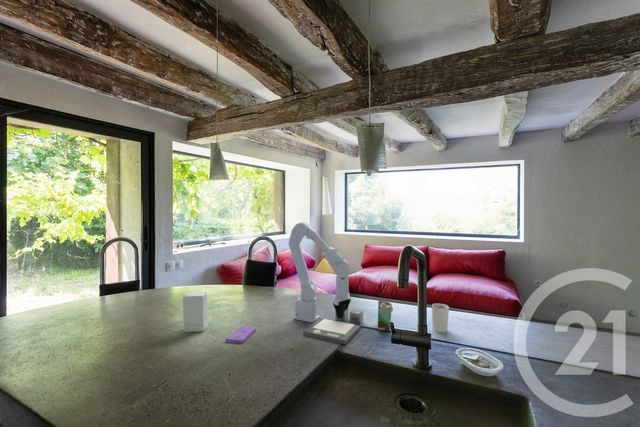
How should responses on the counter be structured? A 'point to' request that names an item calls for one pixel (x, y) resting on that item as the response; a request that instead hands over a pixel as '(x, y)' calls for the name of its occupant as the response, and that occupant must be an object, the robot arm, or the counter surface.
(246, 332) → the sponges
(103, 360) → the counter surface
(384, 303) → the food container
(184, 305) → the skincare box
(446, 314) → the white cup
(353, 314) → the block
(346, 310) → the block
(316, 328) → the kitchen scale
